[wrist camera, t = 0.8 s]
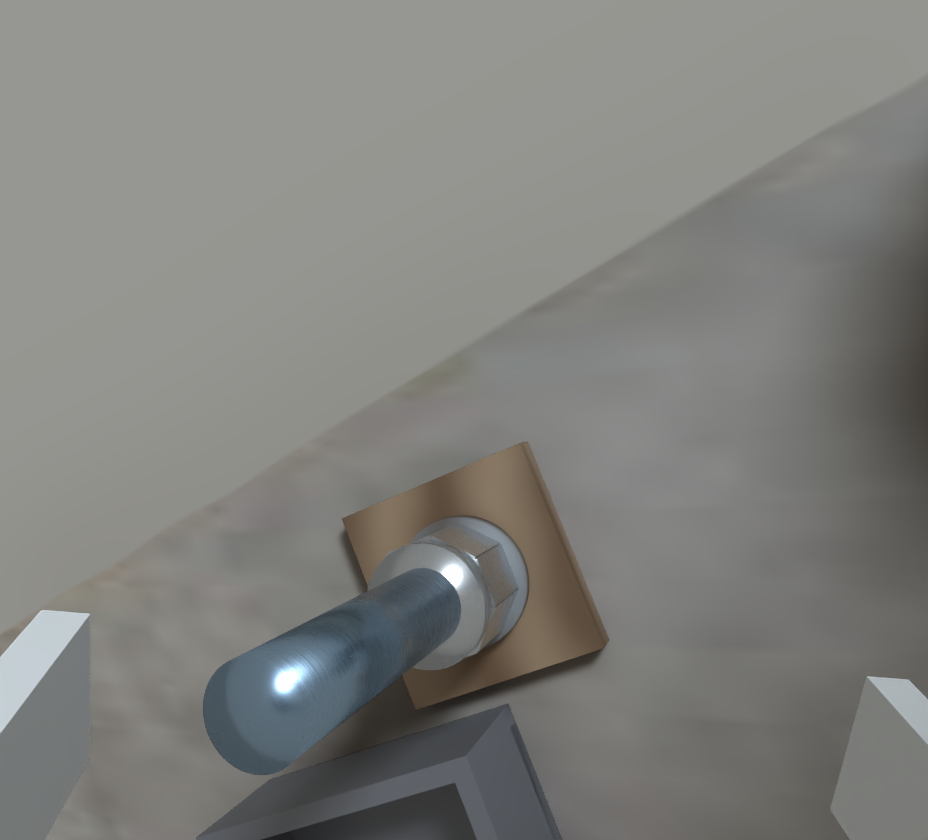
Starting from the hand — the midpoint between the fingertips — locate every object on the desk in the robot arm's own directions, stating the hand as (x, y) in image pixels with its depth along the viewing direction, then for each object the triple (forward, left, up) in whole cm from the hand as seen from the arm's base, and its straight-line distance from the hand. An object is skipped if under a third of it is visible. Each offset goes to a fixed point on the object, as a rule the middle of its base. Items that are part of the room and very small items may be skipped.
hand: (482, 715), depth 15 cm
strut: (+11, 0, -28) cm, 30 cm away
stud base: (+11, 0, -30) cm, 32 cm away
